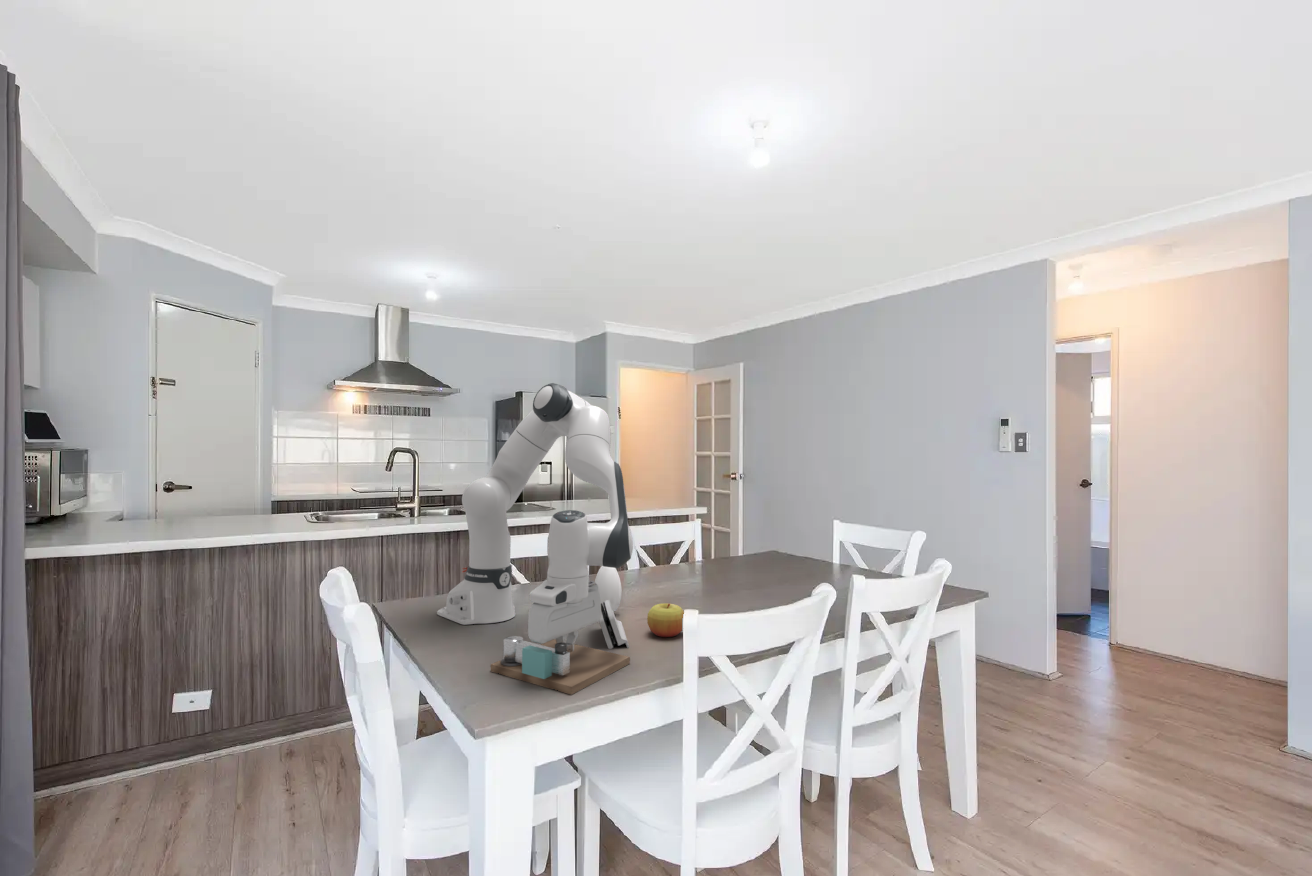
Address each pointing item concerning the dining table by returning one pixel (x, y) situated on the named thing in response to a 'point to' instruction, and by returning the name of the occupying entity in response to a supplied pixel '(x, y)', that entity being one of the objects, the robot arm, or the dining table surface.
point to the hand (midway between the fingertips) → (566, 652)
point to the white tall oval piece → (609, 586)
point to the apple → (665, 619)
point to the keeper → (537, 662)
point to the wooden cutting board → (583, 669)
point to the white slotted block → (611, 626)
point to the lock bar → (559, 653)
